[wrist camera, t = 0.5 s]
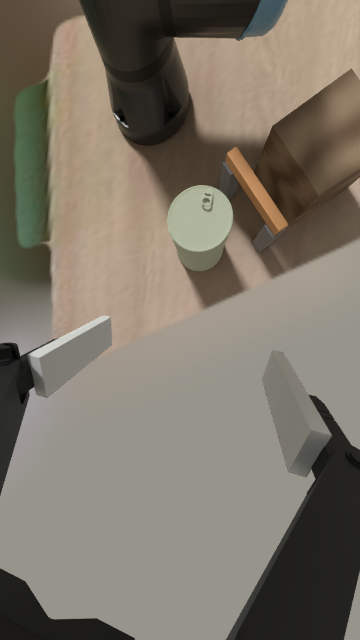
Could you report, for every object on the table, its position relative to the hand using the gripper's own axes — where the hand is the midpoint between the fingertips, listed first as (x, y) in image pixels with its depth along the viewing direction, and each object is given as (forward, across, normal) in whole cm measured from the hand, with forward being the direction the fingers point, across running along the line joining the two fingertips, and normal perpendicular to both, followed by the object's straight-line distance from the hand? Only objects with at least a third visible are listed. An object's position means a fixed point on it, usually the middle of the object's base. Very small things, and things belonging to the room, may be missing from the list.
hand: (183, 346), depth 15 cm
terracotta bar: (+22, +5, +16) cm, 28 cm away
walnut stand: (+32, +13, +21) cm, 41 cm away
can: (+27, -3, +8) cm, 28 cm away
